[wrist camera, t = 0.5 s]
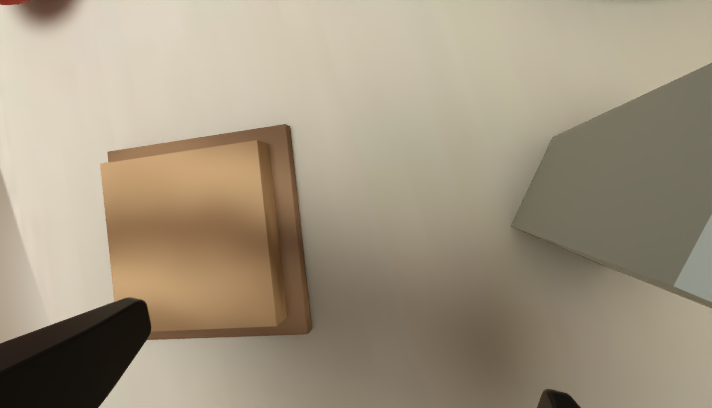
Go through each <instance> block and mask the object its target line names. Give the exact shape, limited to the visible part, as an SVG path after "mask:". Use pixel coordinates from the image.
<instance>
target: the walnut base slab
mask: <svg viewBox="0 0 712 408" xmlns="http://www.w3.org/2000/svg"><path fill="white" fill-rule="evenodd" d="M255 140H258V141H261V142H264V143H267V144H269V151H270V160H271V170H272V179H273V188H274V198H275V207H276V216H277V226H278V235H279V245H280V254H281V263H282V273H283V282H284V291H285V301H286V310H287V318H286V319H285V320H283V321H282V322H281V323H280V324H279V325H278V326H270V327H247V328H224V329H201V330H177V331H154V332H151V333H150V335H149V337H148V339H147V340H158V339H186V338H214V337H242V336H269V335H297V334H308V333H309V332H310V331H311V329H312V327H311V318H310V308H309V299H308V290H307V280H306V271H305V262H304V252H303V243H302V233H301V224H300V215H299V205H298V196H297V187H296V177H295V168H294V158H293V149H292V140H291V130H290V126H288V125H286V124H284V125H277V126H271V127H264V128H258V129H252V130H245V131H239V132H232V133H226V134H219V135H213V136H207V137H200V138H194V139H187V140H181V141H174V142H168V143H162V144H155V145H149V146H142V147H136V148H129V149H123V150H117V151H110V152H108V162H116V161H123V160H129V159H136V158H143V157H149V156H156V155H162V154H169V153H176V152H182V151H189V150H195V149H202V148H209V147H215V146H222V145H228V144H235V143H242V142H248V141H255Z"/></svg>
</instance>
